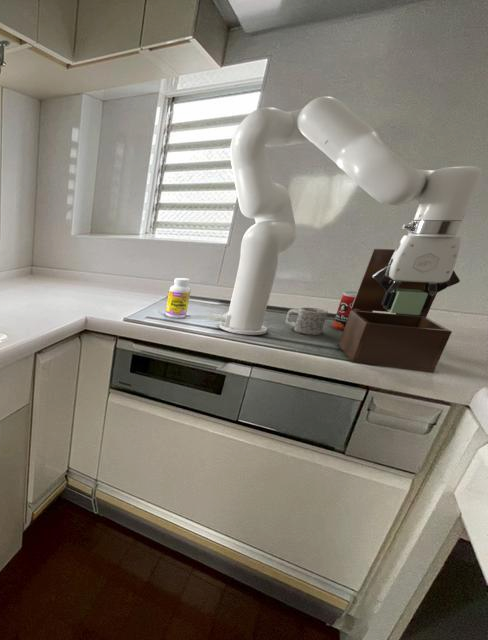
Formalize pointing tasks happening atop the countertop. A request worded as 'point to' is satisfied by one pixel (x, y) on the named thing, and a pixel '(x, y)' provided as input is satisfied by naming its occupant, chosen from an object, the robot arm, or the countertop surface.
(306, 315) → the mug
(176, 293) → the supplement bottle
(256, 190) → the robot arm
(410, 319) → the chest
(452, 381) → the countertop surface
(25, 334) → the countertop surface
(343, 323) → the canned food
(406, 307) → the block
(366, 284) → the lid
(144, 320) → the countertop surface
